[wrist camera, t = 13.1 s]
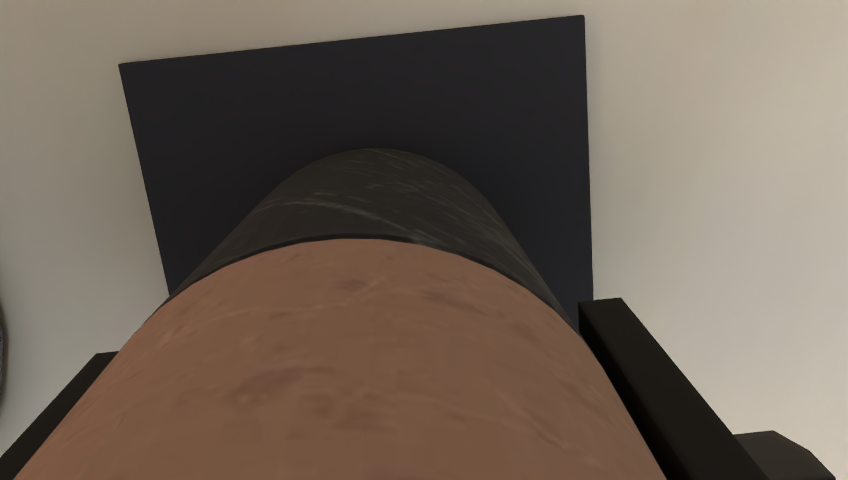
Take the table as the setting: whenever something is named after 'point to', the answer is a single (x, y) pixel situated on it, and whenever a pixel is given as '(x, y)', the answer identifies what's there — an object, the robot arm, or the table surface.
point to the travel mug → (355, 351)
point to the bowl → (0, 349)
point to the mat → (375, 131)
